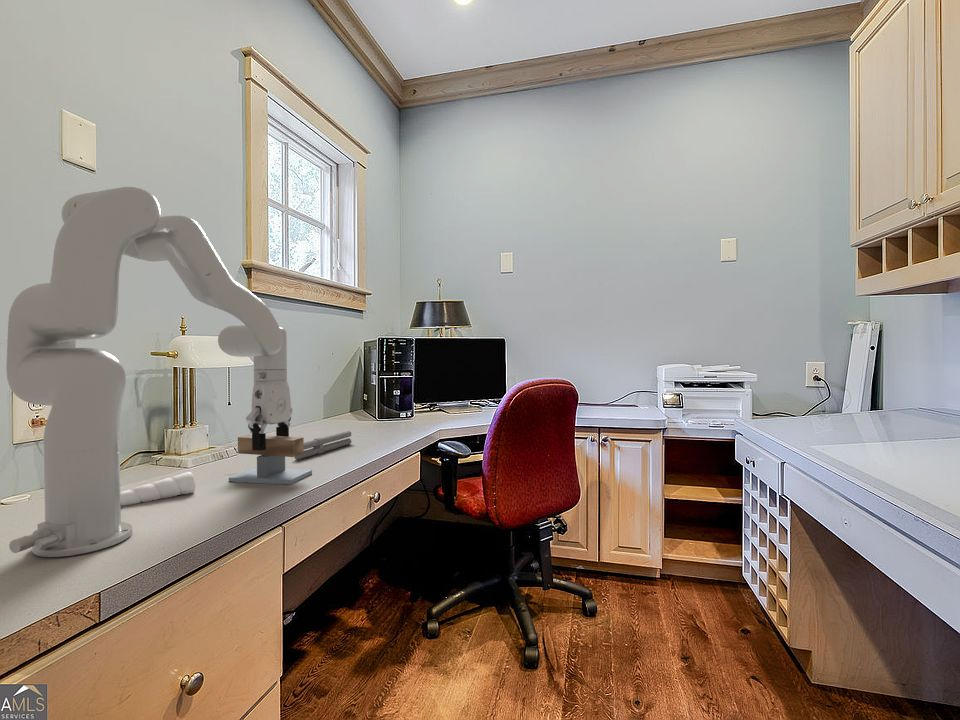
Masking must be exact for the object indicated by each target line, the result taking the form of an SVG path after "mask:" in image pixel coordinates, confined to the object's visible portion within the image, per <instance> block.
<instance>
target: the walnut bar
mask: <svg viewBox="0 0 960 720" xmlns="http://www.w3.org/2000/svg"><path fill="white" fill-rule="evenodd" d="M304 439H305V438H304V437H299V436H289V437H285V436H276V435H266V450H263V451H261V450H252V434H247V435H242V436H238V437H237V454H241V455H242V454H243V455H255V456H261V455H269V456H284V457H285V458H294V457H295V456H298V455H301V454H304V451H305V450H304V443H305V442H304Z"/></svg>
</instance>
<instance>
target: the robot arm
mask: <svg viewBox="0 0 960 720" xmlns="http://www.w3.org/2000/svg"><path fill="white" fill-rule="evenodd" d="M61 218H62V222H63V225H62V226H61V228H60V230H59V232H58V235H57V237H56V241H55V244H54V249H53V257H52V266H51V275H50V281H49V282H48V283H45V282H44V283H38V284H35V285H32V286H29V287H27V288H25V289H23V291H21V292H19V294H18V295H17V296H16V297H15V299H14V300H13V302H12V303H11V306H10V309H9V313H8V314H9V315H8V324H7V339H6V340H7V342H6V345H7V347H6V377H7V378H6V379H7V383H8V385H9V388H10V390H11V392H12V393H13V394H14V395H15V396H16V397H17V398H19V399H20V400H21V401H24V402H26V403H29V404H31V405H39V406H48V407H49V406H51V409H50V411H49V414H48V417H47V420H46V421H45V426H44V431H43V469H44V471H43V478H44V481H43V483H44V489H43V490H44V521H43V522H39V523H37V529H35V530H34V531H33V532H32V533H31V534H30V535H24V536H21V537H18V538H15V539H13V540H11V541H10V542H9V545H8V546H9V550H10V552H11V553H12V554H13V553H14V554H17V553H20V552H22V551H25V550H26V551H27V550H28V549H30V548H31V553H32V554H33V555H34V556H37V557H40V558H41V557H42V558H61V557H72V556H77V555H82V554H83V555H84V554H87V553H92V552H96V551H99V550H104V549H106V548H110V547H112V546H114V545H117V544H119V543H122V542H123V541H125V540H127V539H128V538H130V537H131V536H132V534H133V525H131V524H130V523H128V522H125V521H122V516H121V514H122V513H121V512H122V511H121V509H122V508H121V507H122V506H121V499H120V492H121V456H120V455H121V454H120V453H121V448H120V447H121V445H120V444H121V443H120V439H121V438H120V422H121V421H120V419H121V411H122V410H121V409H122V404H123V399H124V396H125V395H124V394H125V389H126V382H127V379H126V372H125V368H124V367H123V364H122V363H121V362H120V360H119V359H118V358H117V357H116V356H114V355H112V354H111V353H109V352H107V351H105V350H103V349H102V350H101V349H98V348H92V347H76V346H77V345H76V344H77V341H79V340H80V341H81V340H94V339H99V338H102V337H105V336H108V335H109V334H110V333H112V332H113V331H114V329H115V327H116V325H117V321H118V315H119V313H118V311H119V293H120V292H119V289H120V286H119V285H120V270H121V262H122V258H123V256H128V257H131V258H134V259H136V260H141V261H147V262H162V261H167V262H169V264H170V266H172V268H173V270H174V271H175V272H176V274H177V275H178V277H179V279H181V281H182V283H183V284H184V286H185V287H186V289H187V290H188V292H189V293H190V295H191V296H192V297H193V298H194V299H195V300H197V301H199V302H200V303H202V304H205V305H208V306H209V307H212V308H215V309H218V310H221V311H224V312H226V313H228V314H230V315H232V316H233V317H234V318H236V319H238V320H239V321H240V322H241V323H236V324H231V325H227V326H226V327H224V328H223V329H222V330H221V331H220V333H218V334H219V335H218V337H217V344H218V347H219V348H220V349H221V351H222V352H223V353H225V355H228V356H231V357H236V358H237V357H239V358H243V357H247V358H249V357H253V388H252V394H251V395H252V397H251V411H250V412H249V414H248V415H246V419H245V420H246V423H247V427H248V429H249V431H250V435H252V450H261V451H263V450H266V436H267V435H266V434H267V433H266V432H265V431H266V428H267V426H268V425H277V426H276V427H275V428H276V429H275V430H276V431H275V432H276V434H275V436H285V437H290V430H289V429H290V426H291V419H292V413H293V407H292V405H291V404H292V403H291V402H292V401H291V393H290V386H289V382H288V359H287V357H288V353H287V352H288V345H287V343H288V341H287V340H288V339H287V338H288V337H287V331H286V329H285V328H283V327H281V326H280V325H279V323H278V322H277V319H276V318H275V316H274V315H273V313H272V311H271V309H270V308H269V307H268V306H267V304H265V303H264V302H263V300H261V299H260V298H259V297H258V296H256V295H255V294H254V293H252V292H251V291H250V290H249V289H248V288H246V287H245V286H243V285H242V284H240V283H239V282H237V281H235V280H234V278H233V277H232V276H231V274H230V273H229V272H228V270H227V268H226V266H225V265H224V263H223V261H222V260H221V258H220V256H219V255H218V253H217V252H216V249H215V248H214V246H213V245H212V243H211V242H210V239H209V238H208V237H207V235H206V233H205V231H204V230H203V228H202V227H201V225H200V224H199V223H198V222H197V221H196V220H194V219H193V218H191V217H189V216H186V215H185V216H184V215H166V216H164V215H163V216H161V206H160V203H159V202H158V199H157V198H156V197H155V195H153V194H152V193H151V192H149V191H147V190H145V189H142V188H140V187H134V186H121V187H115V188H110V189H105V190H103V189H102V190H99V191H93V192H85V193H80V194H77V195H74V196H72V197H70V198H68V199H67V200H66V201H65V203H64V204H63V206H62V210H61ZM264 432H265V433H264Z"/></svg>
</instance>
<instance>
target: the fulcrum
mask: <svg viewBox="0 0 960 720" xmlns="http://www.w3.org/2000/svg"><path fill="white" fill-rule="evenodd" d="M312 474H313V469H299V468H298V469H296V468H295V469H294V468H286V457H284V456H269V455H257V457H256V467H253V468H251V469H248V470H246V471H243V472H239V473H237V474H234V475H233V476H229V477H228V482H229V481H234V482H233V483H246V482H247V484H267V485H268V484H272V485H273V484H274V485H292V484H294V483H296V482H299V481H300V480H302V479H304V478H306V477H307V478H308V476H311V475H312Z"/></svg>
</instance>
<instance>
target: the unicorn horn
mask: <svg viewBox="0 0 960 720" xmlns="http://www.w3.org/2000/svg"><path fill="white" fill-rule="evenodd" d="M195 480H196V479H195V477H194V475H193V473H192V472H190V471H186V472H183V473H180V474H177V475H176V474H175V475H173V476H170V477H167V478H163V479H161V480H156V481H153V482H151V483H146V484H143V485H140V486H136V487H133V488H130V489H126V490H123V491H120V499H121V507H124V506H130V505H135V504H136V505H137V504H141V502H143V503H146V502H147V503H148V502H152V500H153V501H157V499H158V500H161V499H167V497H169V498H173V497H172V496H174V497H178V496H177V495H180V496H181V495H183V494H185V495H190V494H189V493H191V494H193V493H194V492H195V491H196V481H195ZM160 498H161V499H160Z"/></svg>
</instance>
